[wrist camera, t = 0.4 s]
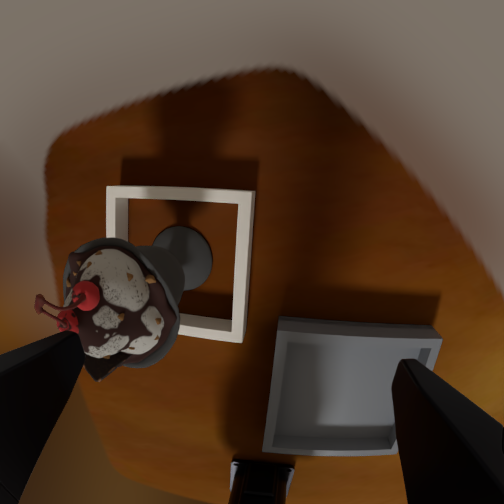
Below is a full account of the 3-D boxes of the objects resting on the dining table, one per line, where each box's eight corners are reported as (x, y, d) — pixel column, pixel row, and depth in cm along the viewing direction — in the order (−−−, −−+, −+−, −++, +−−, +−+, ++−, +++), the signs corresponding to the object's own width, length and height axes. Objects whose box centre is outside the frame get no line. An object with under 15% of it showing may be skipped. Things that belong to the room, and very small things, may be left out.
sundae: (187, 195, 23) (39, 224, 8) (241, 271, 23) (167, 401, 9) (126, 246, 24) (-23, 316, 10) (175, 314, 25) (69, 440, 10)
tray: (391, 437, 25) (396, 454, 23) (264, 433, 27) (262, 451, 24) (431, 325, 22) (442, 338, 20) (278, 315, 24) (277, 330, 21)
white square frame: (245, 331, 24) (242, 343, 22) (123, 312, 25) (111, 321, 24) (255, 191, 22) (251, 191, 20) (120, 185, 23) (106, 186, 21)
